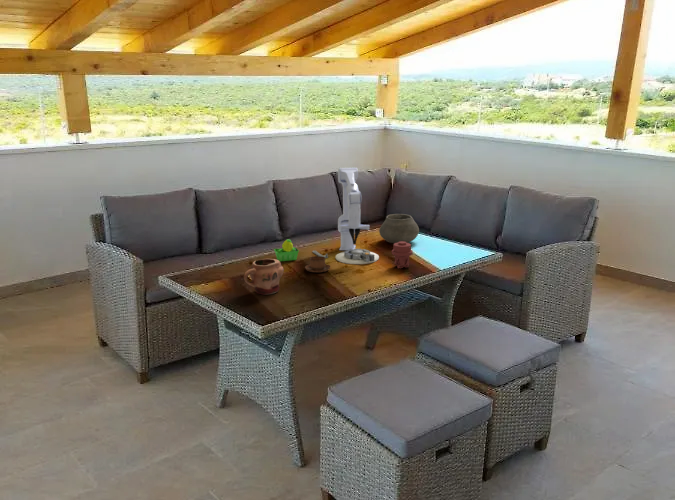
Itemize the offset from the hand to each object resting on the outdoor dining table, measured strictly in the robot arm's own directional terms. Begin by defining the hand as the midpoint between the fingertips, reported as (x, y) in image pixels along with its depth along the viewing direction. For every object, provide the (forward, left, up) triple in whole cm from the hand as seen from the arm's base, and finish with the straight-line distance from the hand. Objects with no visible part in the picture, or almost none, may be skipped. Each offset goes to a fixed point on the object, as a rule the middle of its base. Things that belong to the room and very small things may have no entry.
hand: (354, 243), depth 298 cm
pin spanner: (-12, -19, -10) cm, 25 cm away
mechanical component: (+5, +24, -10) cm, 26 cm away
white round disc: (-8, +1, -10) cm, 13 cm away
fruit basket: (-1, -34, -10) cm, 36 cm away
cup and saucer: (+15, -16, -10) cm, 24 cm away
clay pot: (-41, +21, -10) cm, 47 cm away
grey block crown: (-7, +1, -9) cm, 11 cm away
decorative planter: (+49, -33, -10) cm, 60 cm away
